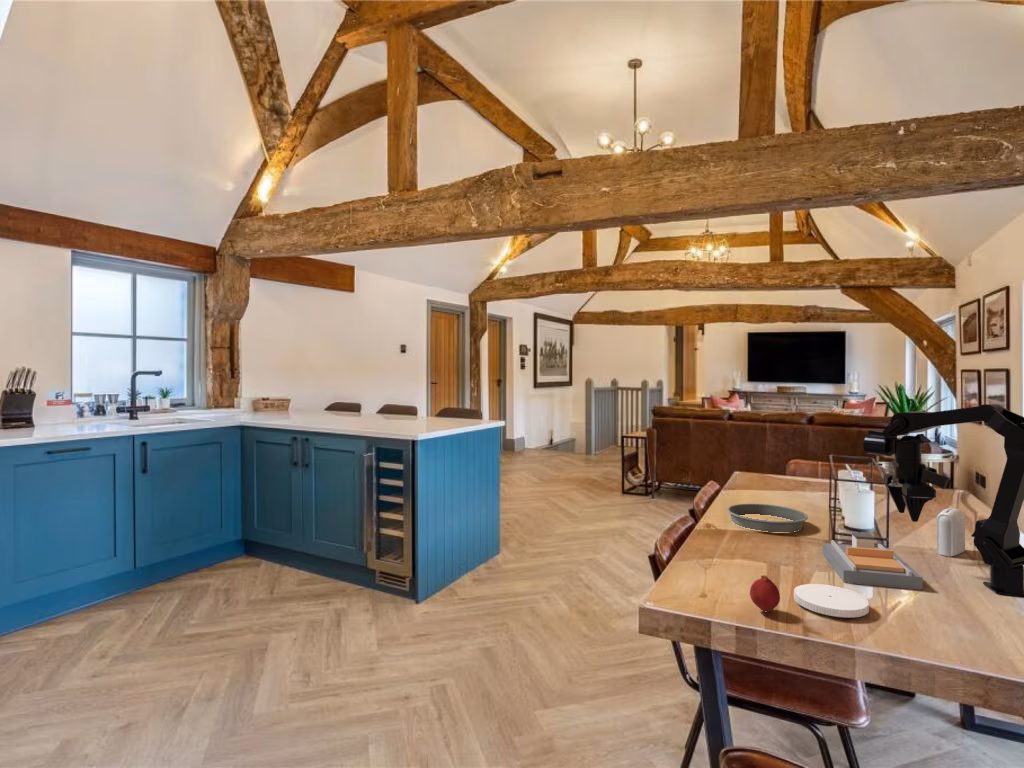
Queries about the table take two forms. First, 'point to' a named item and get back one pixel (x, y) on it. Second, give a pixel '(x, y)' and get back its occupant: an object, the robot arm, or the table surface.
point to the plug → (862, 540)
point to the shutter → (873, 559)
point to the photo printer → (950, 532)
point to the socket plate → (870, 577)
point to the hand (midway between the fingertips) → (908, 517)
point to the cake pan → (766, 525)
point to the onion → (765, 594)
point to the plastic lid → (831, 600)
